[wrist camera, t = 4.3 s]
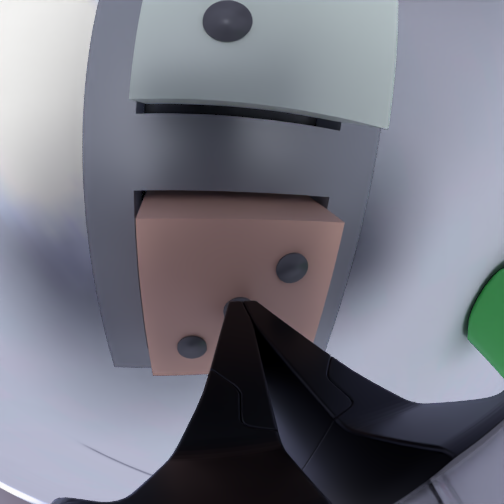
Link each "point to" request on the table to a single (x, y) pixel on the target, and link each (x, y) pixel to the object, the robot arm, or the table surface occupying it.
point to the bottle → (489, 322)
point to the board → (197, 174)
